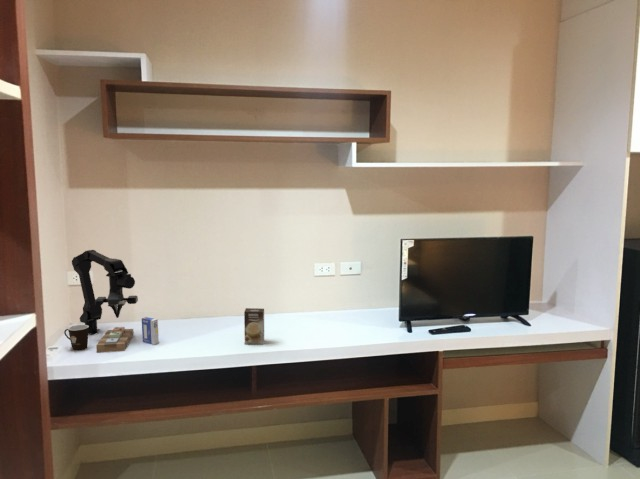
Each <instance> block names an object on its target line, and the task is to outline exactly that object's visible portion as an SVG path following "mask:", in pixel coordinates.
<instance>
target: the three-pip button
mask: <svg viewBox="0 0 640 479" xmlns="http://www.w3.org/2000/svg"><path fill="white" fill-rule="evenodd" d="M121 336H122V331H117V332H111V333H110V334H109V339H110V338H121Z"/></svg>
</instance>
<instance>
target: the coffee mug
mask: <svg viewBox="0 0 640 479" xmlns="http://www.w3.org/2000/svg"><path fill="white" fill-rule="evenodd" d="M88 330H89V326H88V325H85V324H76V325H72V326H69V327H68V328H66V329H64V335H65V337H66V338H67V339H68V340H69V341H70V345H71V349H72V351H74V352H77V351H78V352H80V351H85V350H87V349H88V347H89V346H88V344H89V341H88V340H89V334H88ZM67 331H68V335H69V336H68V335H67Z"/></svg>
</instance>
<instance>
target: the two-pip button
mask: <svg viewBox="0 0 640 479" xmlns="http://www.w3.org/2000/svg"><path fill="white" fill-rule="evenodd" d="M125 329H126V328H125V326H119V327H118V326H115V327H113V329H111V330H112V332H117V331H122V333H124V332H125Z"/></svg>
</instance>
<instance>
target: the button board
mask: <svg viewBox="0 0 640 479" xmlns="http://www.w3.org/2000/svg"><path fill="white" fill-rule="evenodd" d="M112 330H113V329H107V331H106V332H105V333H104V334H103V336H102V337H101V338H100V340H99V341H98V342H97V343H96V345H95V346H96V353H111V352H113V353H114V352H116V353H117V352H125V351H126V350H127V348H128V346H129V344H130V343H131V341H132V339H133V338H134V334H135V333H134V328H125V332H124V333H122V336H121V338H119V341H118V343H107V344H106V341H107V339H109V334H110V333H111V332H112Z"/></svg>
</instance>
